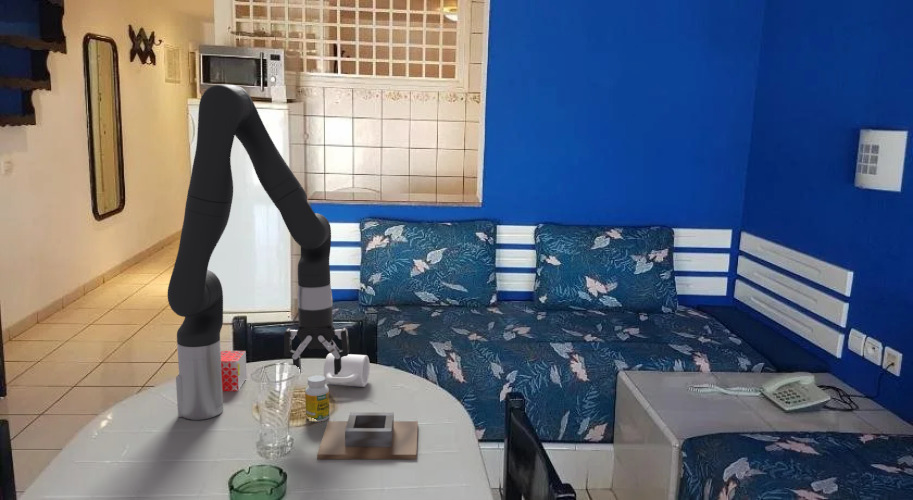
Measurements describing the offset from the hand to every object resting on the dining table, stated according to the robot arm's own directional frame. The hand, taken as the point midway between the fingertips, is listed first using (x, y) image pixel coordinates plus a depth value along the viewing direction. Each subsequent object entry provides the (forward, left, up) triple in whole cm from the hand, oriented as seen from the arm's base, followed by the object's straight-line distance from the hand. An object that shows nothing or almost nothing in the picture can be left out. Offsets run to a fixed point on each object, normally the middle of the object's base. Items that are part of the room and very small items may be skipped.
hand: (317, 373), depth 163 cm
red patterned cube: (-26, +20, -11) cm, 35 cm away
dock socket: (+13, -12, -11) cm, 20 cm away
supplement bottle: (0, 0, -11) cm, 11 cm away
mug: (+4, +19, -11) cm, 22 cm away
